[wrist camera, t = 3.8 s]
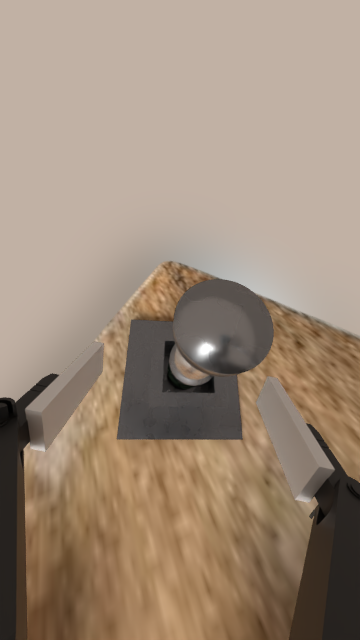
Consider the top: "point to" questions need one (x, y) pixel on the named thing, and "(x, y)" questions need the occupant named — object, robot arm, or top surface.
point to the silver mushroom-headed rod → (217, 333)
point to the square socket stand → (172, 394)
